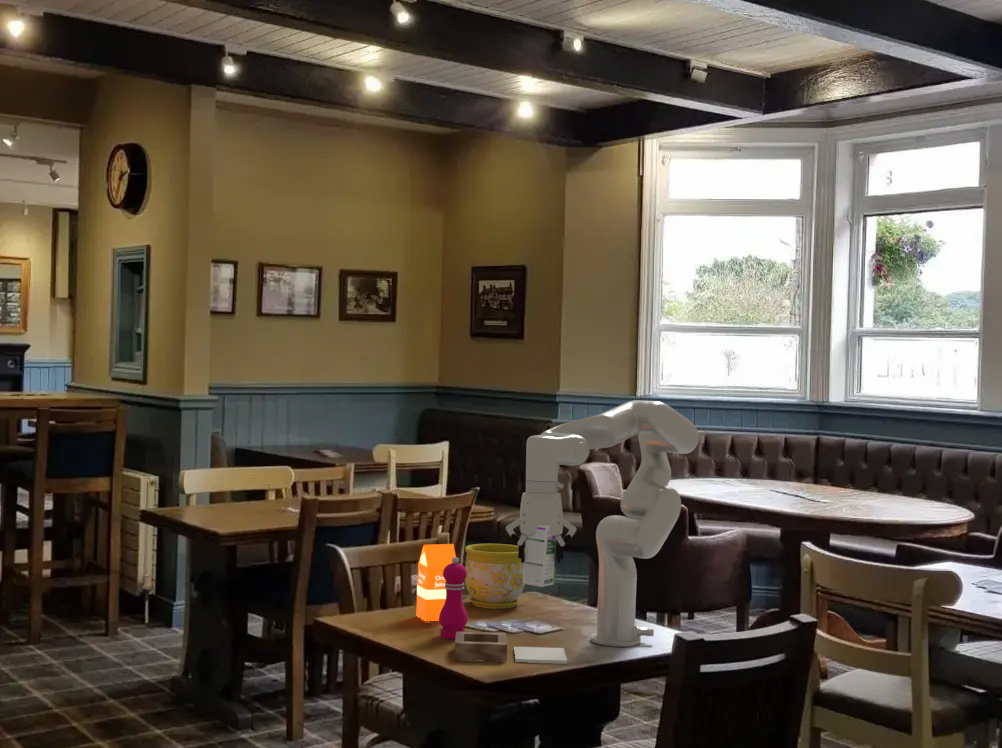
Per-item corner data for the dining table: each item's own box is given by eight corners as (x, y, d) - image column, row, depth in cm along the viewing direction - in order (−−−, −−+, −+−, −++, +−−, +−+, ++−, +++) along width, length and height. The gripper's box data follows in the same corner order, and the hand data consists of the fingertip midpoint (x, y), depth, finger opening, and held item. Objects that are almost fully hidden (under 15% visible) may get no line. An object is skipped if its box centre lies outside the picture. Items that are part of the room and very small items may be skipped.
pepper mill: (463, 641, 278) (466, 560, 278) (435, 638, 280) (437, 558, 280) (469, 634, 285) (472, 555, 286) (442, 632, 287) (445, 554, 287)
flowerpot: (506, 613, 313) (508, 554, 313) (451, 605, 321) (453, 548, 321) (536, 603, 328) (538, 547, 328) (482, 596, 337) (484, 541, 337)
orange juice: (415, 616, 305) (418, 542, 306) (446, 614, 309) (449, 541, 309) (425, 622, 298) (427, 546, 298) (456, 620, 302) (459, 546, 302)
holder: (505, 649, 271) (506, 633, 271) (506, 662, 259) (507, 644, 259) (455, 648, 271) (456, 631, 271) (454, 660, 259) (455, 643, 259)
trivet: (563, 651, 271) (563, 648, 271) (567, 664, 259) (567, 660, 259) (513, 649, 271) (513, 646, 271) (515, 662, 259) (515, 658, 259)
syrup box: (543, 587, 261) (548, 525, 262) (521, 583, 265) (526, 521, 265) (554, 585, 266) (560, 523, 266) (533, 580, 269) (538, 520, 269)
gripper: (577, 486, 269) (576, 559, 269) (504, 485, 269) (503, 558, 269) (579, 490, 261) (578, 565, 262) (504, 489, 261) (503, 564, 262)
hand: (540, 561), depth 265 cm, fingers closed on syrup box, 8 cm apart
